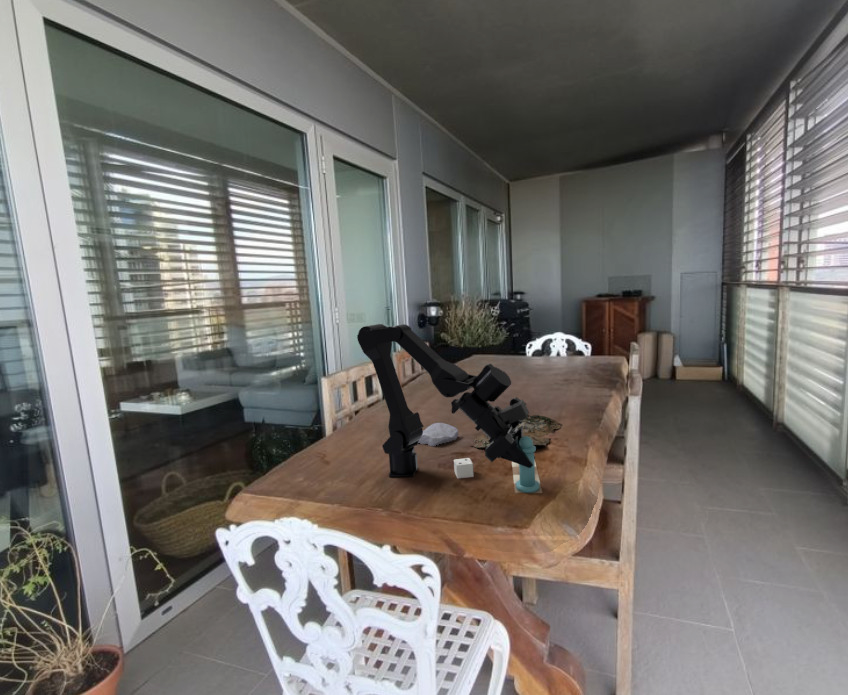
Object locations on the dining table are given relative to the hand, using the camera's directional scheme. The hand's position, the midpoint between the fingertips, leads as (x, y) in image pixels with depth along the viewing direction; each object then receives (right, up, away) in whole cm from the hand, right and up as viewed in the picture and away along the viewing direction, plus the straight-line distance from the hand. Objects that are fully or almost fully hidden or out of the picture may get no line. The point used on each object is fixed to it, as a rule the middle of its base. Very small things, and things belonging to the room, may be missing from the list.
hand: (532, 463), depth 105 cm
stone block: (-20, -3, +40) cm, 45 cm away
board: (0, -6, +9) cm, 10 cm away
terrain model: (+3, -2, +41) cm, 41 cm away
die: (-14, -6, +12) cm, 20 cm away
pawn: (-1, -6, +1) cm, 6 cm away
